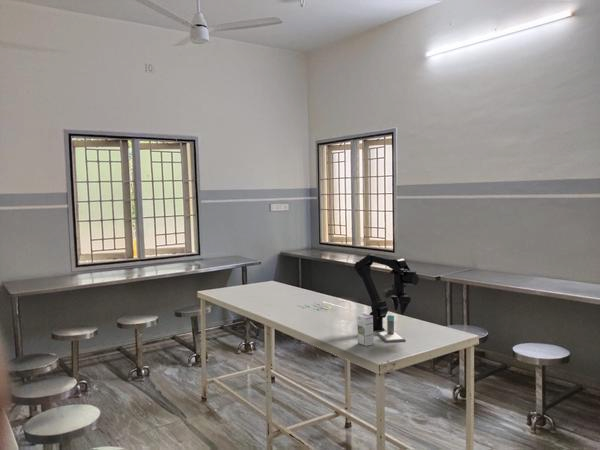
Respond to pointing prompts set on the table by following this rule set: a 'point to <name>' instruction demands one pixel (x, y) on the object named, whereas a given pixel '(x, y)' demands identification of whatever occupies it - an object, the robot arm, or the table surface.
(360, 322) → the syrup box
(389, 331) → the marker
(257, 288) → the table surface
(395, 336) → the writing board
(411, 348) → the table surface
